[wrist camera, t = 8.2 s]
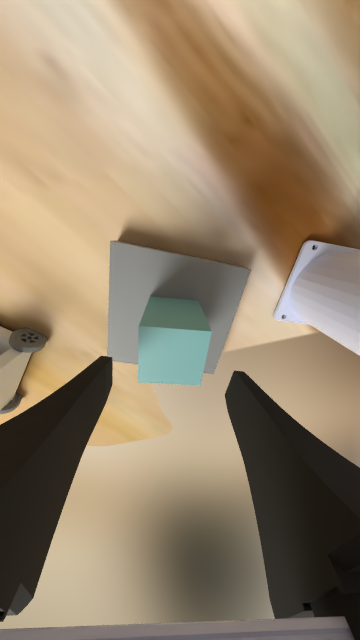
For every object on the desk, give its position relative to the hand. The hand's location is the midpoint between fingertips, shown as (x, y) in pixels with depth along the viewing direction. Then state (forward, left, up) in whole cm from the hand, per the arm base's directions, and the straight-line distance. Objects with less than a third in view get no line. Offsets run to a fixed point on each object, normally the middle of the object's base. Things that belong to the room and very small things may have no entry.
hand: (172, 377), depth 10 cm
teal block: (0, 0, -8) cm, 8 cm away
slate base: (0, 0, -10) cm, 10 cm away
